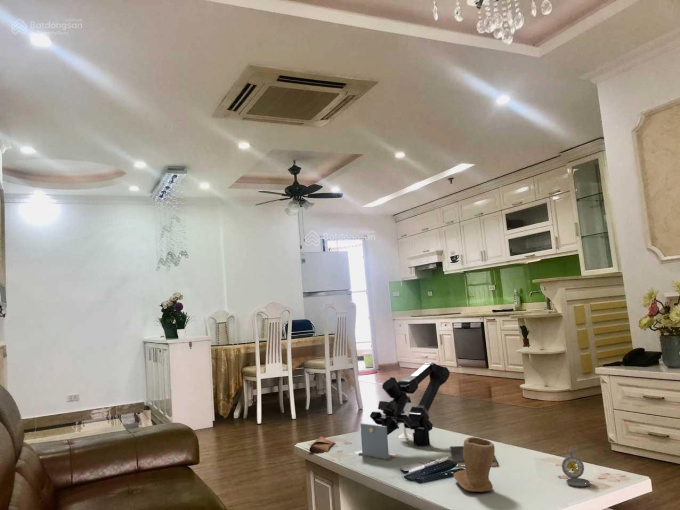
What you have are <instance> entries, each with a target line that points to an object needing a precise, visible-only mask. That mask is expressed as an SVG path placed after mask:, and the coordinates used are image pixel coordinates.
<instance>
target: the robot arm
mask: <svg viewBox="0 0 680 510" xmlns="http://www.w3.org/2000/svg"><path fill="white" fill-rule="evenodd" d="M450 374H451V372H450V370H449V368H448V367H447V366H442V365H438V364H436V363H435V362H424V363H423V364H422V366H421V367H419V368H418V369H417V370H416V371H415V372H413V373H412V374H411V375H410V376H407V377H403V378H401V379H400V380H399V381H397V379H396V377H389V379H387V380H385V381H384V382H383V384H382V389H383V391H384V392H385V394H387V395H388V397H389V398H391V399H392V400H390V401H384V400H379V402H378V407H377V409H378V410H381V411H382V413H383V414H382V413H381V412H380V411H371V413H370V415H369V418H370V419H372V421H373V422H374V423H375V425H380V426H387V436H388V435H390V434H391V433H394V432H395V431H397V430H399V429H400V424H403V423H405V424H404V427H405V428H406V429H410V430H413V431H414V432H412V436H413V437H412V440H413V441H412V442H413V444H414V446H416V447H418V446H419V447H423V446H431V441H430V431H432V430H433V426H434V425H433V423H432V422H431V420H429V419H430V413H429V410H430V408H431V406H432V404H433V402H434V400H435V398H436V396H437V394H438V391H439V389H440V387H441V386H442V385H444V384H445V383H447V381H448V380H449V377H450ZM428 377H429V382H428V385H427V387H426V389H425V390H424V392H423V395H422V397H421V399H420V401H419V403H418V405H417V406H412V407H411V408H410V411H409V412H408V413H407V414H408V415H407V414H406V415H403V414H404V410H403V409H404V407H405V405H406V403H410V404H411V403H412V400H411V397H410V395H409V394H412V395H413V394H415V392H416V391H417V390H418V388H419V384H421V382H423V381H424V380H425V379H426V378H428ZM406 393H408V395H409V396H407V395H406ZM404 427H403V428H404Z"/></svg>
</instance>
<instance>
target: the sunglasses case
mask: <svg viewBox="0 0 680 510" xmlns="http://www.w3.org/2000/svg"><path fill="white" fill-rule="evenodd" d="M336 444H337V443H336V442H335V441H333V440H329V439H327V438H325V437H323V436H322V435H321V436H319V438H318V439H316V440H315V441H314V442H313V443H312V444H311V445H310V447H309V450H308V451H309V453H310V454H325V453H324V452H328V453H329V451H330V450H331V449H330V448H332V447H333V446H335V445H336Z"/></svg>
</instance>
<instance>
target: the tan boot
mask: <svg viewBox="0 0 680 510" xmlns="http://www.w3.org/2000/svg"><path fill="white" fill-rule="evenodd" d="M463 441H464V442H463V446H464V447H463V457H464V462H465V466H464V467H465V469H463V470H458V471H456V472H454V473H453V477H454V480H456V482H457V483H458V485H460V487H461V488H462V489H464V490H465V491H467V492H474V493H475V492H476V493H477V492H478V493H480V492H481V493H482V492H488V491H492V490H493V484H492V482H491V480H490V477H489V475H490V470H491V467H492V466H491V465H492V462H493V459H494V455H495V451H496V450H495V445H494V443H493V442H492V441H490V440H488V439H484V438H482V437H476V436H469V437H466V438H465V440H463Z"/></svg>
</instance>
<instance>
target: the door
mask: <svg viewBox="0 0 680 510" xmlns="http://www.w3.org/2000/svg"><path fill="white" fill-rule="evenodd" d="M360 438H361V453H362V455H361V456H363V455H367V456H366V457H368V456H373V457H378V458H383V459H382V460H384V459H387V458H389V453H390V452H389V444H388V443H389V442H388V438H389V437H388V435H387V426H382V425H378V424H373V423H372V424H371V423H370V424H369V423H365V422H364V423H363V422H362V423H360ZM373 457H372V458H373ZM378 458H377V459H378Z"/></svg>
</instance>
